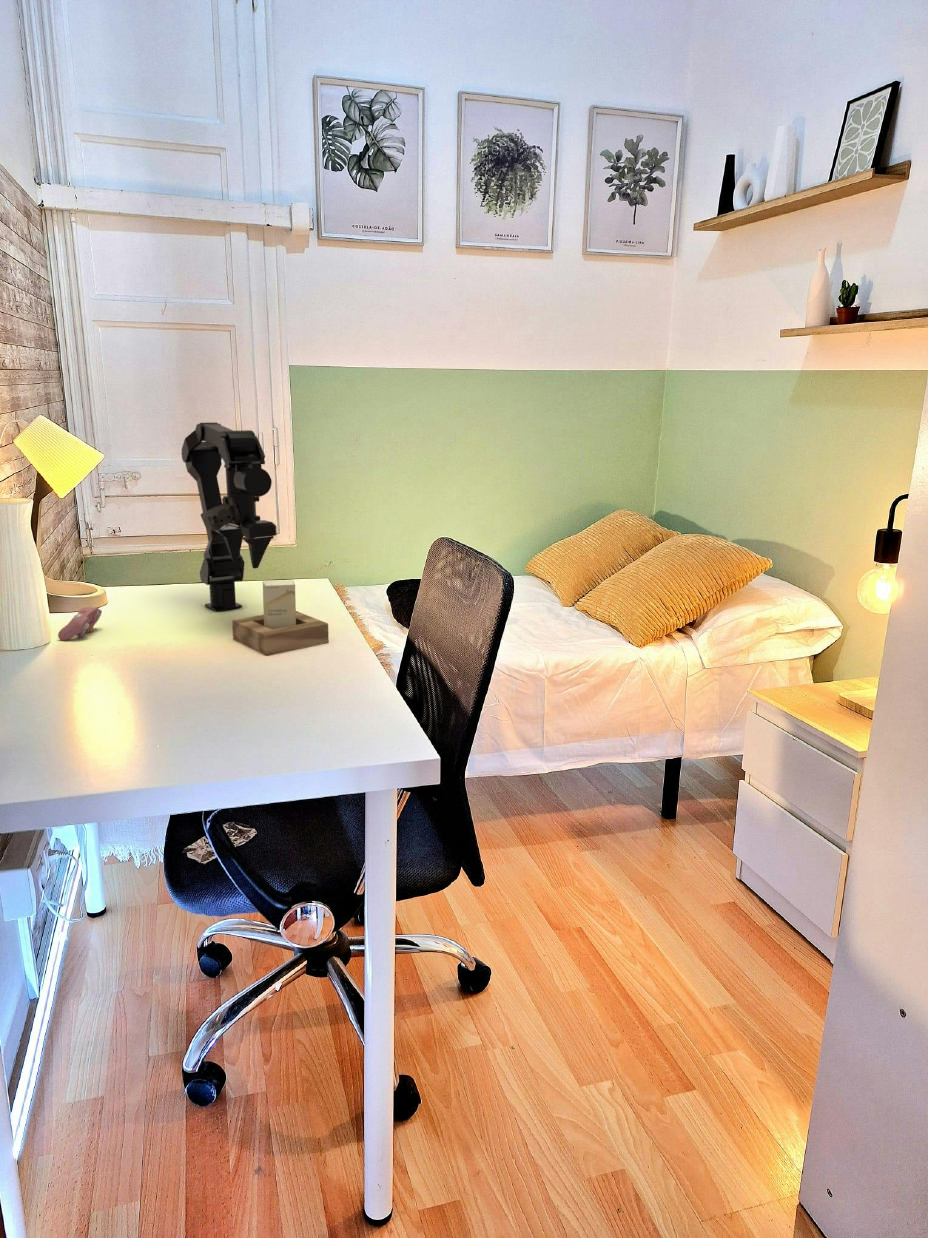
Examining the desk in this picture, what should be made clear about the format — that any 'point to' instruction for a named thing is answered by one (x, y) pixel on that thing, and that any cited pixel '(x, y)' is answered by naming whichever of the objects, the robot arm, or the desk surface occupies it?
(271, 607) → the skincare box
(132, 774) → the desk surface
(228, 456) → the robot arm
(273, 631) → the frame
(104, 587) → the desk surface
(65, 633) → the pink toy car
